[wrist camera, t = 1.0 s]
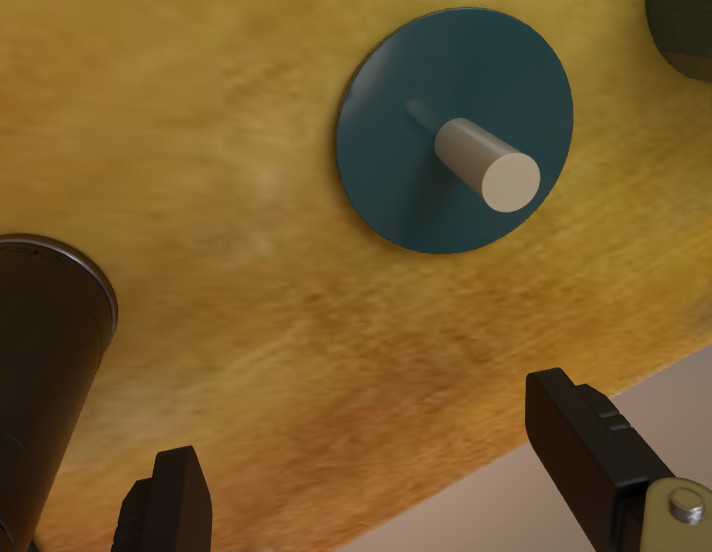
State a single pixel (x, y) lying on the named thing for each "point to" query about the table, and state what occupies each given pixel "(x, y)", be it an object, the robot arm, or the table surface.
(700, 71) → the pot
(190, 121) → the table surface
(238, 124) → the table surface
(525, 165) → the lid
